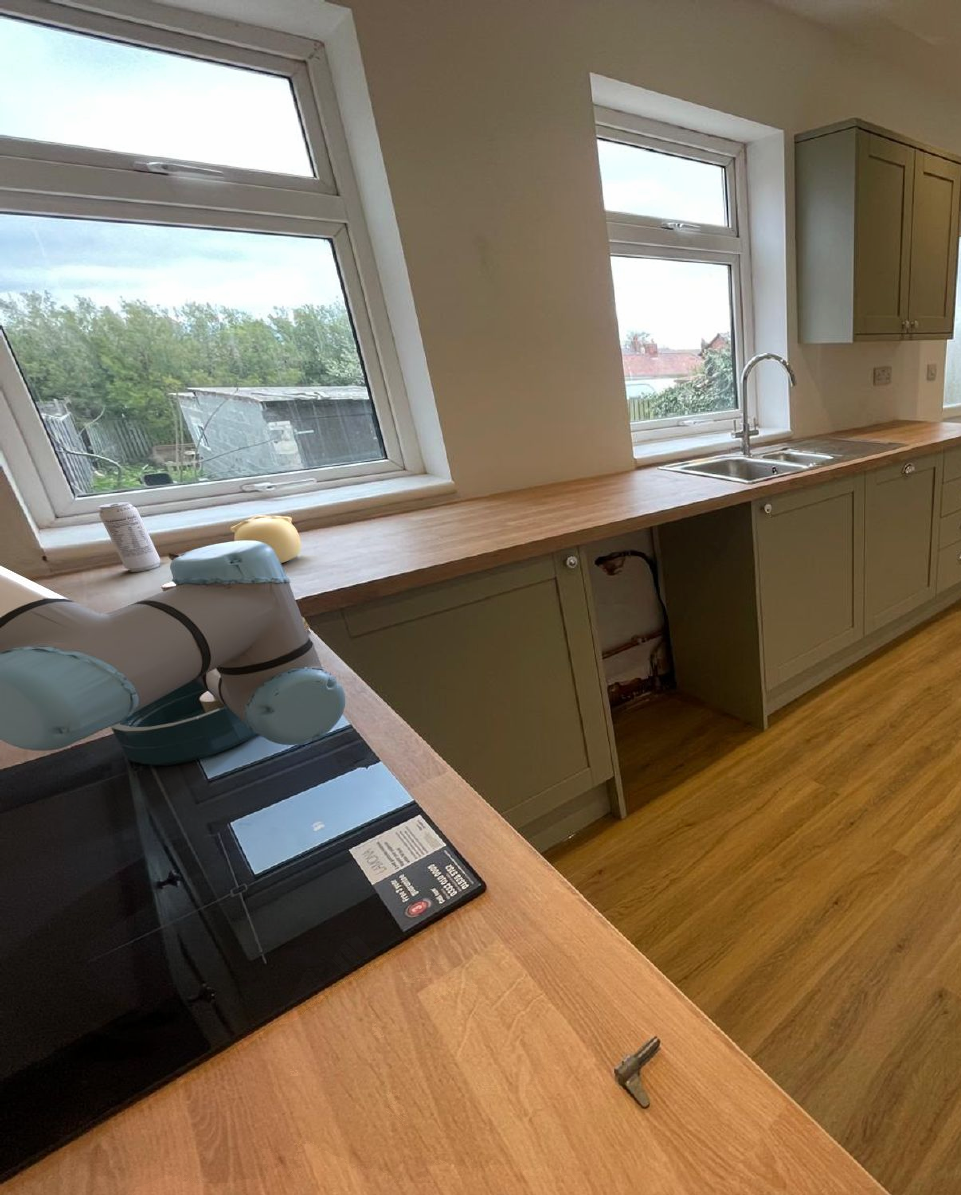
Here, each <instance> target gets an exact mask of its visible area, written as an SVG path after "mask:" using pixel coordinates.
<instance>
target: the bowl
mask: <svg viewBox="0 0 961 1195" xmlns="http://www.w3.org/2000/svg"><path fill="white" fill-rule="evenodd" d="M205 692H207V690H206V689H205V688H204V687H202V686H201V685H200V684H199V683H198V682H188V683H187V684H185V685H183V686H181V687H179V688H178V689H176V690H174V691H172V692H170V693H169V694H167V695H165V696H163V697H161V698H160V699H158V700H156V701H154V702H152V703H151V704H149V705H147V706H145V707H143V708H142V709H140V710H138V711H136V712H135V713H133V714H132V715H131V716H130V717H128V718H126V720H124V721H123V722H121V723H118V724H116V725H114V726H110V727H109V728H110V729H111V731H112V732H113V734H114V736H115V738H116V739H117V741H118V743H119V746H121V748H122V751H123V752H124V754H125V756H126V757H127V759H128V760H129V761H130V762H134V763H137V764H141V765H149V766H172V765H179V764H184V763H189V762H193V761H197V760H200V759H204V758H207V757H210V756H214V755H216V754H220V753H222V752H225V751H227V750H229V749H232V748H234V747H236V746H238V745H240V744H243V743H244V742H246V741H248V740H250V739H252V738H253V737H255V736H257V735H258V734H255V733H254V731H251V730H250V729H249V728H248V726H247V724H246V723H245V722H244V721H242V720H241V719H240V718H239V717H238V716H237V715H236V714H235V713H234V712H232V711H231V710H230V709H229V708H228V707H226V706H223V707H221V708H218V709H215V710H213V711H210V712H207V713H206V712H205V710H204V708H203V706H202V704H201V701H200V697H201V695H203V694H204V693H205Z"/></svg>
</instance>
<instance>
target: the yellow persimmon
mask: <svg viewBox="0 0 961 1195" xmlns="http://www.w3.org/2000/svg"><path fill="white" fill-rule="evenodd" d="M292 522H293V518H292V517H291V516H282V515H265V514H258V515H255V516H253V517H251V518H249V519H245V520H242V521H241V522H239V523H238V524H236V525H233V526H231V527H230V531H231V532H232V533H234V537H233V538H234V539H233V542H234V541H258V542H262V543H265V544H267V545H269V546H270V547H271V548H272V549H273V550H274V552H275V554H276V556H277V558H278V560H280V562H281V564H282V563H285V562H288V561H291V560H293V559H295V558H296V557H298V556H299V554H300V553H301V550H302V542H301V537H300V534H299V532H298V529H297V528H296V527H295V526H294V525H293V524H292Z"/></svg>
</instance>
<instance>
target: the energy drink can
mask: <svg viewBox="0 0 961 1195" xmlns="http://www.w3.org/2000/svg"><path fill="white" fill-rule="evenodd" d="M98 515H99V518H100V520H101V522H102V523H103V525H104V528H105V530H106V532H107V534H108V536H109V538H110V540H111V541H112V545H113V547H114V549H115V550H116V552H117V555H118V556H119V558H120V560H121V563H122V564H123V566H124V568H125V569H127V570H129V571H130V572H132V573H138V572H139V573H140V572H144V571H149V570H152V569H153V570H154V569H155V568H158V567H159V566H160V562H161V558H160V556H159V553H158V552H157V550H156V547H155V544H154V542H153V541H152V538H151V537H150V534H149V532H148V530H147V528H146V524H144V521H143V519H142V517H141V515H140V512H139V511H138V508H136V507H135V506H134V505H133V504H131V502H130V501H127V500H126V501H125V500H123V501H116V502H110V503H105V504H102V505H99V514H98Z"/></svg>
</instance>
